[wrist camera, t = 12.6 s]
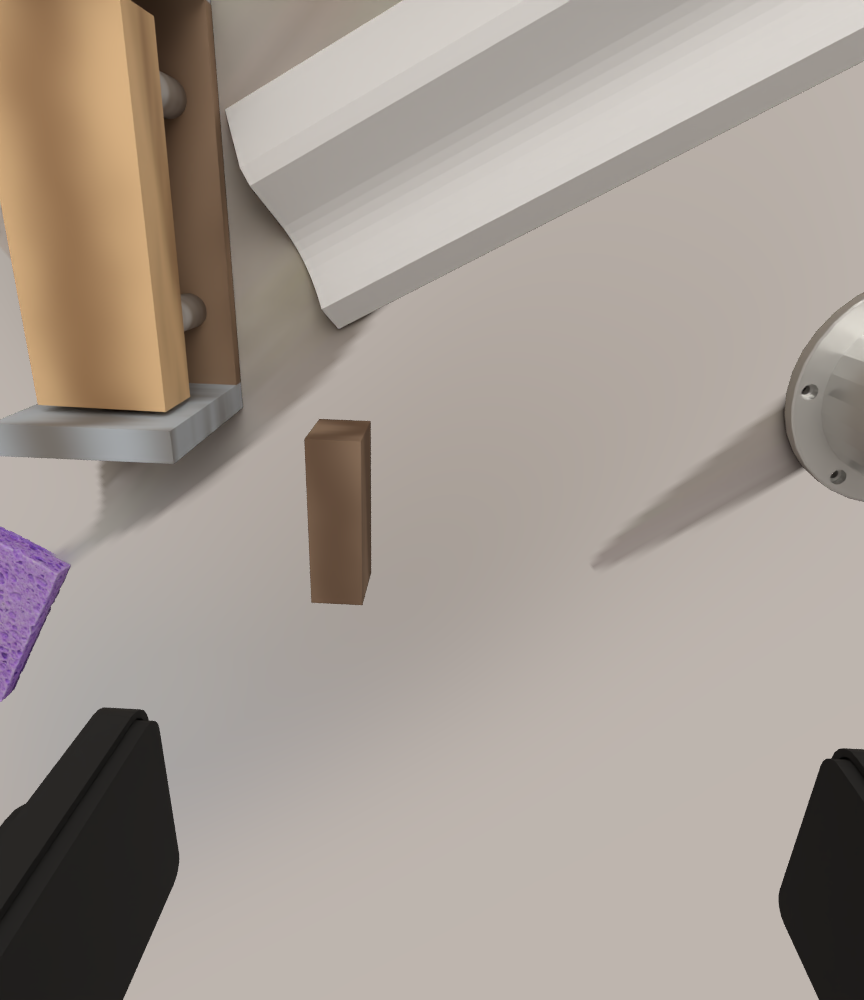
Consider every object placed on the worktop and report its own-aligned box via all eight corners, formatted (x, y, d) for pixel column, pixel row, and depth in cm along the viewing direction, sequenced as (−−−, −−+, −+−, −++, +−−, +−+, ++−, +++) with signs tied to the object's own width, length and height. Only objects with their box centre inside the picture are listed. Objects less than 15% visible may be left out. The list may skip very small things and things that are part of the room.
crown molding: (340, 323, 37) (327, 332, 34) (226, 105, 34) (199, 91, 30) (921, 26, 31) (977, 1, 28) (862, -287, 27) (918, -359, 24)
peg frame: (207, -35, 31) (98, -148, 22) (242, 407, 39) (173, 463, 30) (38, -39, 31) (-142, -152, 22) (107, 401, 39) (-3, 455, 30)
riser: (370, 421, 39) (360, 441, 35) (371, 572, 43) (362, 604, 39) (319, 419, 39) (304, 439, 35) (324, 570, 43) (311, 602, 39)
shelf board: (153, 16, 27) (119, -8, 25) (190, 396, 34) (165, 412, 31) (11, 10, 28) (-40, -14, 25) (73, 390, 34) (38, 405, 31)
